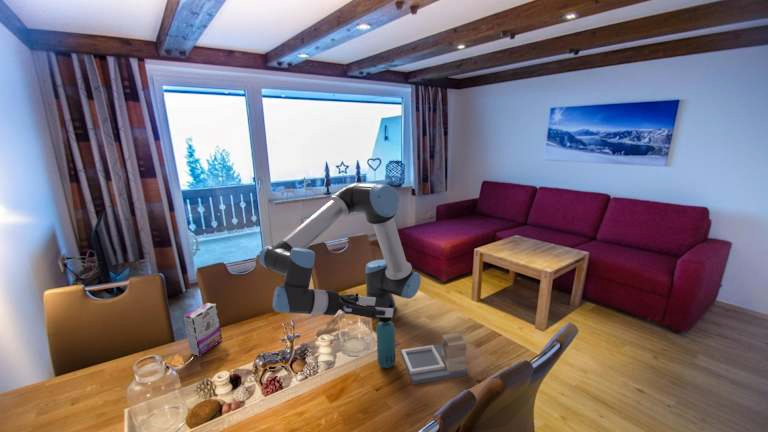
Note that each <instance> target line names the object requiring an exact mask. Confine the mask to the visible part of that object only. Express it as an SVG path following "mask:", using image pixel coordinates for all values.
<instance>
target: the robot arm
mask: <svg viewBox="0 0 768 432" xmlns="http://www.w3.org/2000/svg"><path fill="white" fill-rule="evenodd" d="M399 204H400V199H399V194H398V192H397V189H395V188H394V187H393V186H391V185H389V184H384V183H381V182H380V183H374V182H373V183H370V182H359V181H357V182H353V183H350V184H348V185H346V186H345V187H343V188H341V189H339V190H338V191H337V192H335V193H334V194H333V195H331V196H330V197H329V199H328V202H327V203H326V204H325V205H323V206H322V207H321V208H320V209H318V210H317V211H316V212H315V213H313V214H312V215H311V216H310V217H308V218H307V219H306V220H305V221H304V222H303V223H301V224H300V225H299V226H298V227H296V228H295V229H293V231H292V232H290V233H289V234H288V235H287V236H286V237H284V238H283V239H282V240H281V241H279V242H278V243H277V244H276V245H267V246H264V247H262V249H261V250H260V252H259V254H258V261H259V264H260V265H261V266H262V267H263V268H265V269H267V270H269V271H273V272H276V273H278V274H280V275H283V276H285V277H284V282H283V285H278V286H276V287H275V289H274V292H273V296H272V309H273V311H274V312H278V313H285V314H303V315H306V314H307V315H311V317H314V316H315V315H324V316H336V315H337V314H338V312H339V311H341V312H343V314H345V315H353V316H354V315H355V316H359V317H363V318H364V317H365V318H370V319H372V320H375V319H377V318H379V317H391V318H393V315H394V312H395V310H396V301H395V299H394V296H393V295H395V296H397V297H400V298H403V299H408V300H409V299H413V298H414V297H415V296H416V295H417V293H418V292H419V289H420V287H421V283H422V281H421V280H422V277H421V275H420V273H418V272H416V271H414V270H413V267H412V266H413V265H412V264H411V263H410V262H408V261H407V259H406V255H405V252H404V248H403V246H402V241H401V239H400V235H399V232H398V229H397V224H396V222H395V217H396V216H397V212H398V210H399V207H400V205H399ZM353 213H362V214H364V215H365V218H366V222H368V224H370V225H372V226H373V229H374V232H375V235H376V238H377V242H378V244H379V247H380V251H381V253H382V257H383V259H376V260H372V261H370V262H368V263H366V265H365V286H366V287H365V289H366V293H365V296H363V295H362V296H360V295H359V293H355V294H353V293H351V294H339V292H338V291H335V290H325V289H316V288H315V289H314V288H310V284H311V279H312V274H313V270H314V267H315V258H316V253H315V252H314V251H313V250H311V249H308V248H309V247H310V246H311V245H312V244H313V243H314V242H315V241H317V240H318V239H319V238H320V237H321V236H322V235H323V234H325V233H326V232H327V231H328V230H329V229H331V228H332V226H334V224H336V223H337V222H338V221H339V220H341V218H347V217H348V216H349V215H350V214H353ZM364 305H366V306H364Z"/></svg>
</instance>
